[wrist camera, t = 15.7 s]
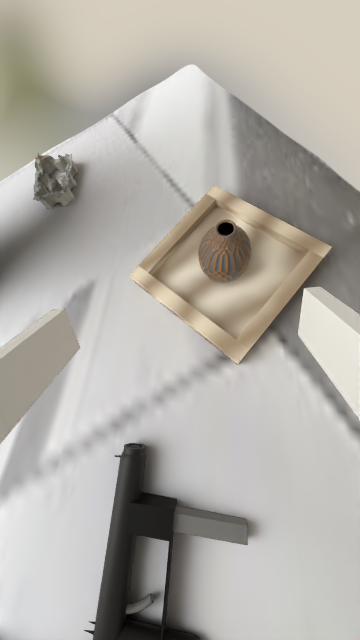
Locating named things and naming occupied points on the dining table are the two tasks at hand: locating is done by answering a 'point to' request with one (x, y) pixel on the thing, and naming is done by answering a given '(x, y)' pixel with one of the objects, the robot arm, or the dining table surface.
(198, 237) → the tray
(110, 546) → the door handle
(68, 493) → the dining table surface
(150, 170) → the dining table surface
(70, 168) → the egg carton
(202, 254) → the vase
